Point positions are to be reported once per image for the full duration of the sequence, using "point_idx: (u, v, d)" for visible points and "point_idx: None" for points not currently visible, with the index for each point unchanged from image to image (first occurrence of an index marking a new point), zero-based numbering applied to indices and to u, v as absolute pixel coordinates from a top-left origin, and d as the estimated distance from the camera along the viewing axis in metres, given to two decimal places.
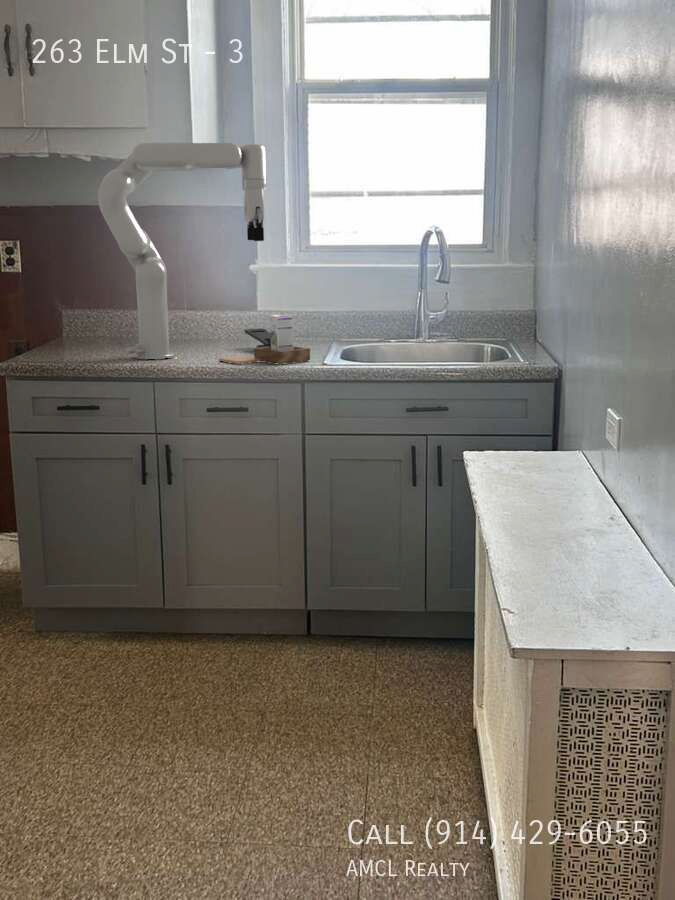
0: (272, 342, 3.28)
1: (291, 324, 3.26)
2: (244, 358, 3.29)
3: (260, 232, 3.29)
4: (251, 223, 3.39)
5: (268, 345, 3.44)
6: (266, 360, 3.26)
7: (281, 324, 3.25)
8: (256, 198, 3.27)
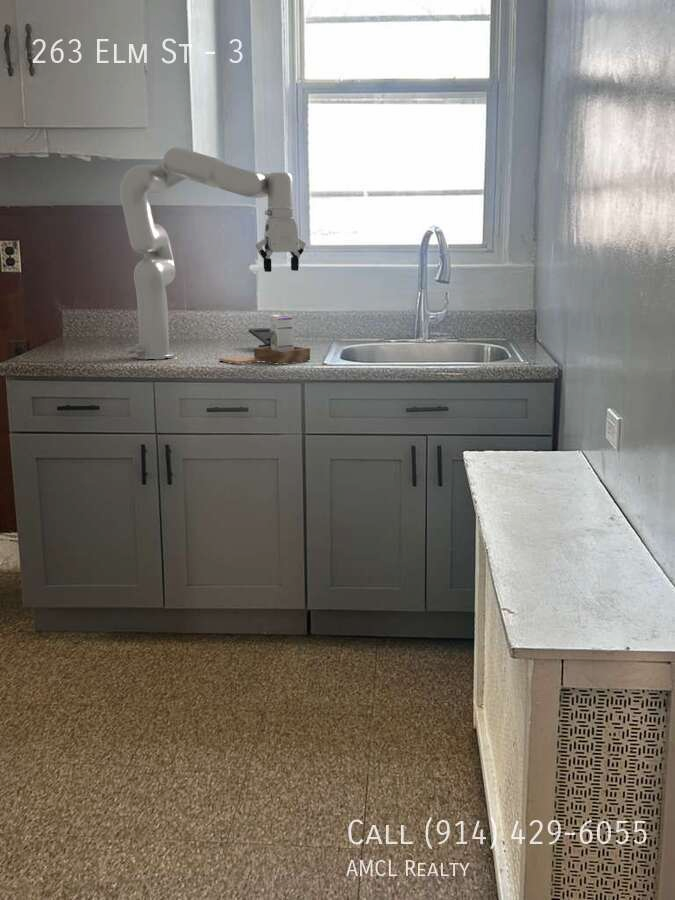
0: (272, 342, 3.28)
1: (291, 324, 3.26)
2: (244, 358, 3.29)
3: None
4: None
5: (268, 345, 3.44)
6: (266, 360, 3.26)
7: (281, 324, 3.25)
8: None
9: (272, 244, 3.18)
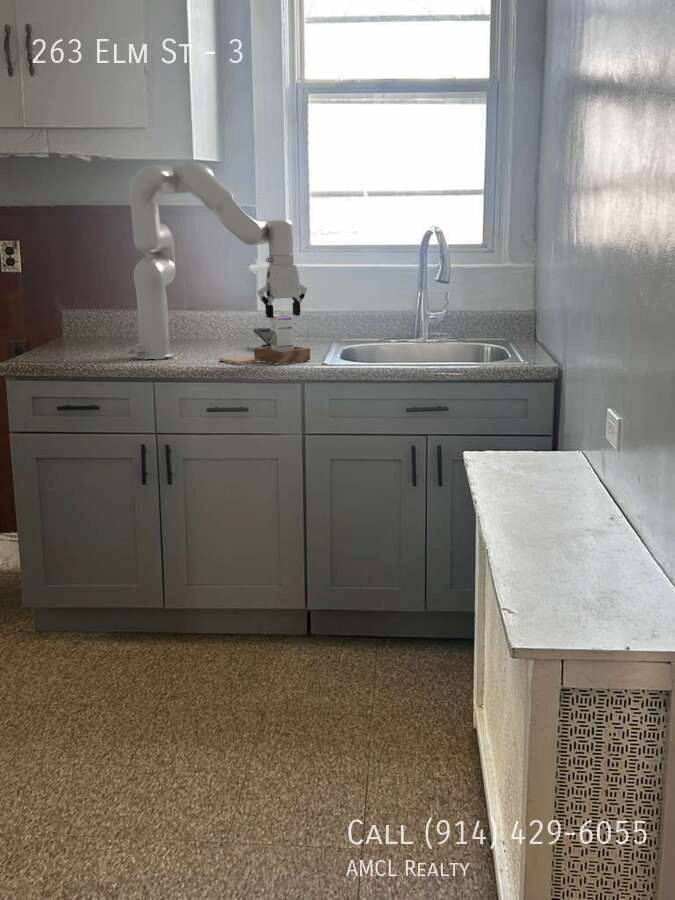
0: (272, 342, 3.28)
1: (291, 324, 3.26)
2: (244, 358, 3.29)
3: None
4: None
5: (269, 345, 3.45)
6: (266, 360, 3.26)
7: (281, 324, 3.25)
8: None
9: (274, 291, 3.21)
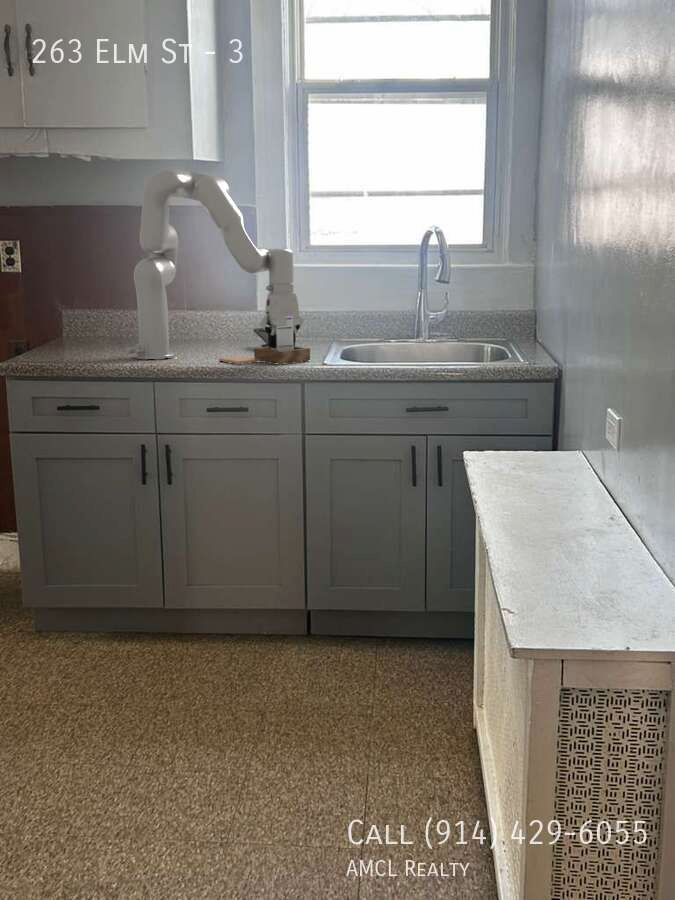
0: None
1: (291, 324, 3.26)
2: (244, 358, 3.29)
3: None
4: None
5: None
6: (266, 360, 3.26)
7: None
8: None
9: (273, 319, 3.23)
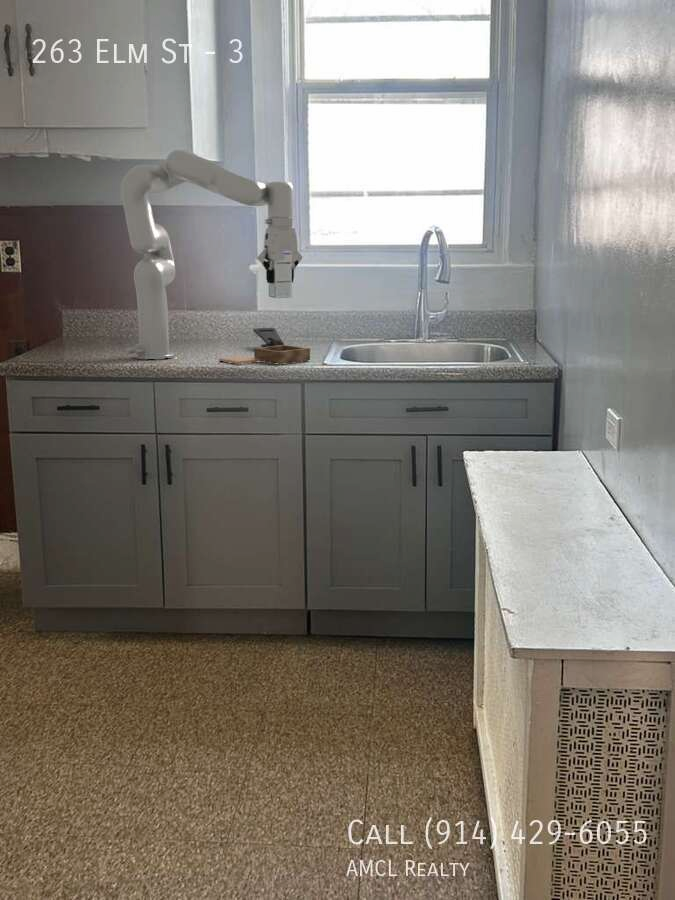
0: None
1: (290, 259, 3.22)
2: (244, 358, 3.29)
3: None
4: None
5: (269, 344, 3.46)
6: (266, 360, 3.26)
7: None
8: None
9: (271, 253, 3.18)
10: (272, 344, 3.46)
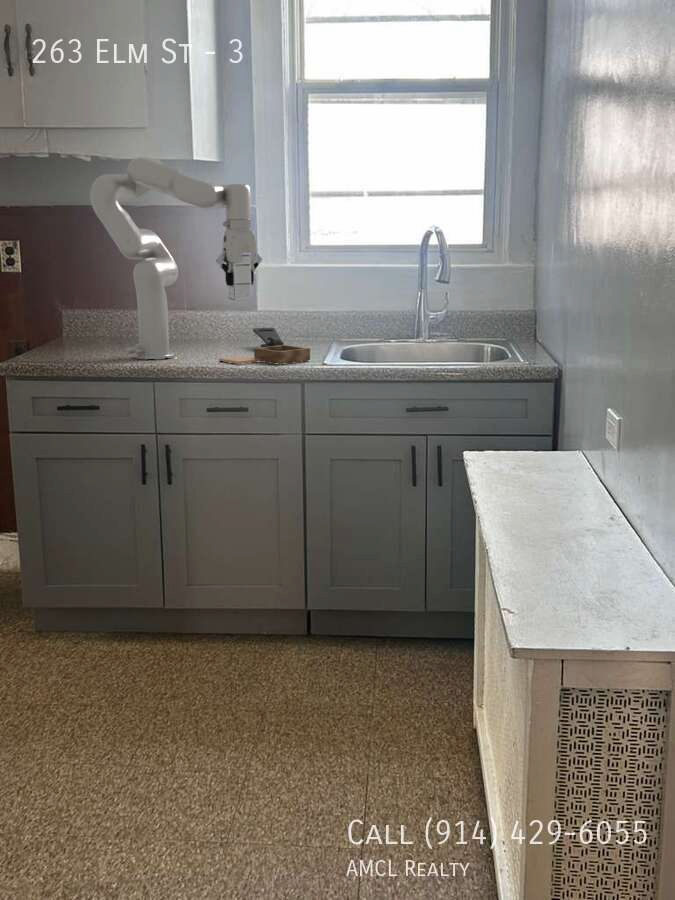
0: None
1: (249, 261, 3.21)
2: (244, 358, 3.29)
3: None
4: None
5: (268, 344, 3.46)
6: (266, 360, 3.26)
7: None
8: None
9: (230, 255, 3.17)
10: (272, 344, 3.46)
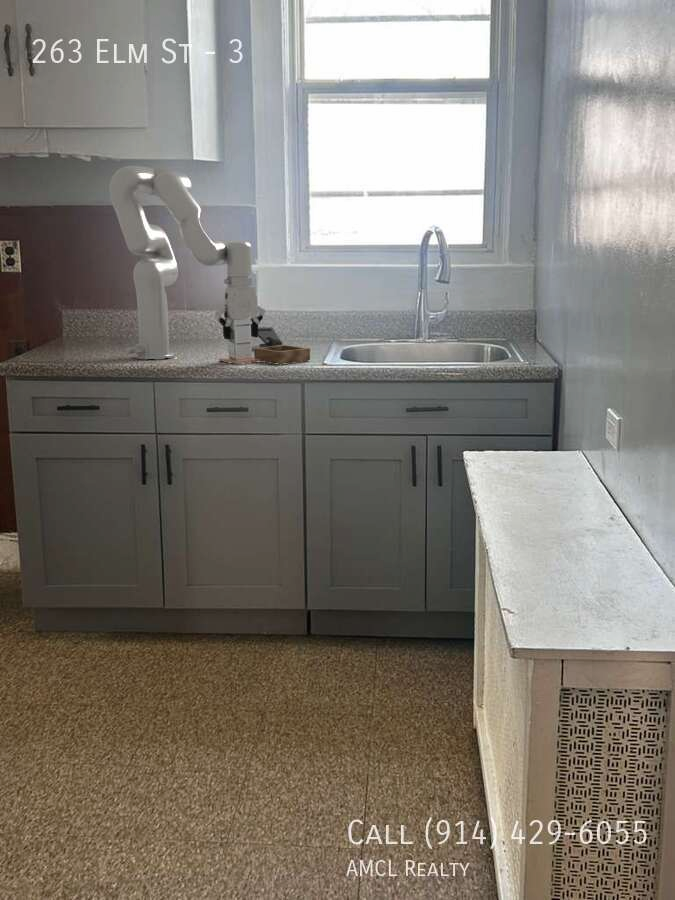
0: (230, 339, 3.27)
1: (249, 321, 3.25)
2: None
3: None
4: None
5: (267, 344, 3.47)
6: (266, 360, 3.26)
7: (238, 322, 3.23)
8: None
9: (231, 312, 3.21)
10: (271, 343, 3.47)
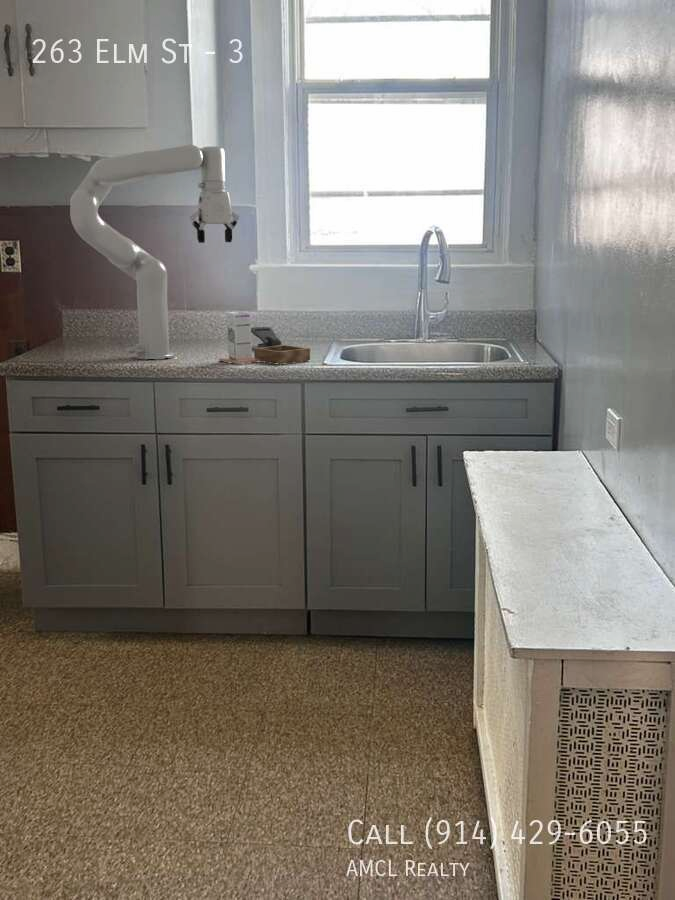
0: (230, 339, 3.27)
1: (249, 321, 3.25)
2: None
3: None
4: None
5: (267, 343, 3.48)
6: (266, 360, 3.26)
7: (238, 322, 3.23)
8: None
9: (205, 216, 3.29)
10: (270, 343, 3.48)
